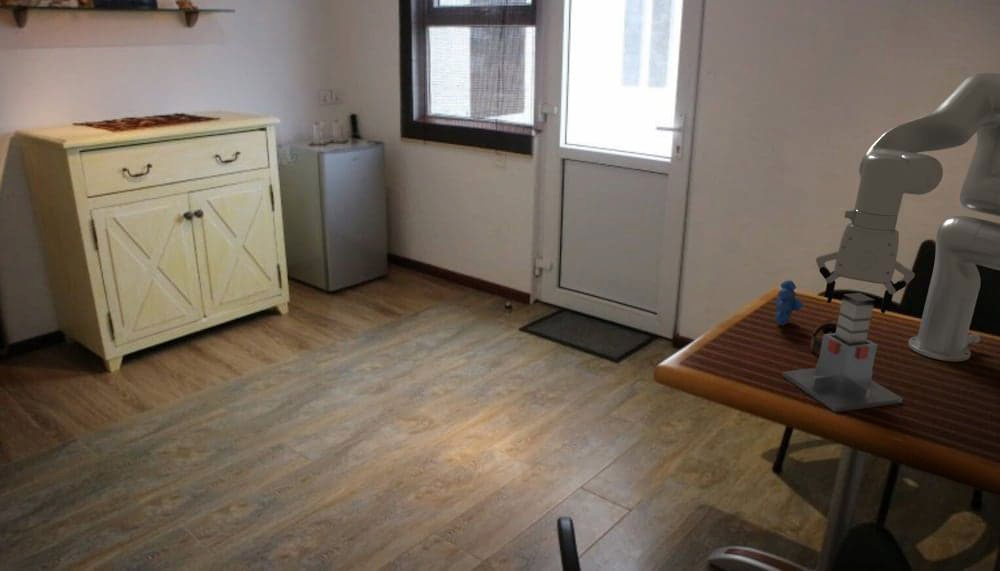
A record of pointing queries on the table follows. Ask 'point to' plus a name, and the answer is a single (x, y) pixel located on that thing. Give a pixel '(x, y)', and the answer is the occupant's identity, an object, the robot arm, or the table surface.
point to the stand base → (843, 377)
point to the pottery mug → (826, 329)
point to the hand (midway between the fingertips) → (855, 306)
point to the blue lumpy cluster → (786, 302)
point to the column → (854, 319)
